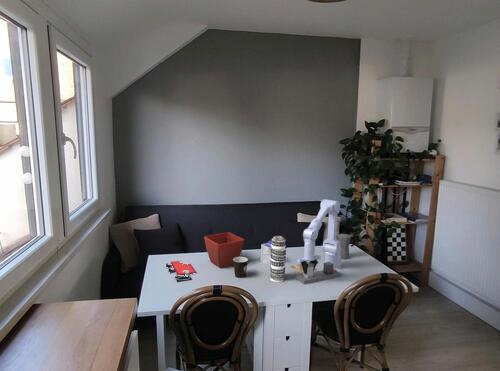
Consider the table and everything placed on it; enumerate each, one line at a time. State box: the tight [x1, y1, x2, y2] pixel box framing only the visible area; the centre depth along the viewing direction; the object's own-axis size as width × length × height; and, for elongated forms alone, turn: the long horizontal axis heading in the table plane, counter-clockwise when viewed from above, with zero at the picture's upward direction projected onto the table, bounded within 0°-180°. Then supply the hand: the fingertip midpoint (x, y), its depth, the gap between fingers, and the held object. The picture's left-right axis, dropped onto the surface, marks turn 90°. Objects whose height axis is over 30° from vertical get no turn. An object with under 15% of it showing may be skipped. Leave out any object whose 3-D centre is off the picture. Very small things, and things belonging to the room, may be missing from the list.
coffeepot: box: [336, 230, 358, 260], centre depth 231 cm, size 15×9×18 cm, turn 94°
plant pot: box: [204, 232, 245, 269], centre depth 217 cm, size 19×19×17 cm
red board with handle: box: [165, 260, 198, 282], centre depth 206 cm, size 30×3×15 cm
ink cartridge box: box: [260, 240, 272, 267], centre depth 218 cm, size 10×6×14 cm, turn 38°
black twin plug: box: [322, 261, 334, 275], centre depth 200 cm, size 4×4×8 cm
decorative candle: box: [269, 235, 287, 283], centre depth 194 cm, size 9×9×25 cm
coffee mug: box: [233, 256, 250, 279], centre depth 200 cm, size 12×9×10 cm
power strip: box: [295, 269, 342, 285], centre depth 197 cm, size 26×8×3 cm, turn 116°
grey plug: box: [302, 261, 314, 279], centre depth 194 cm, size 4×4×8 cm
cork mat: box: [290, 263, 317, 274], centre depth 211 cm, size 12×12×1 cm
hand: (308, 273), depth 194 cm, fingers closed on grey plug, 4 cm apart
